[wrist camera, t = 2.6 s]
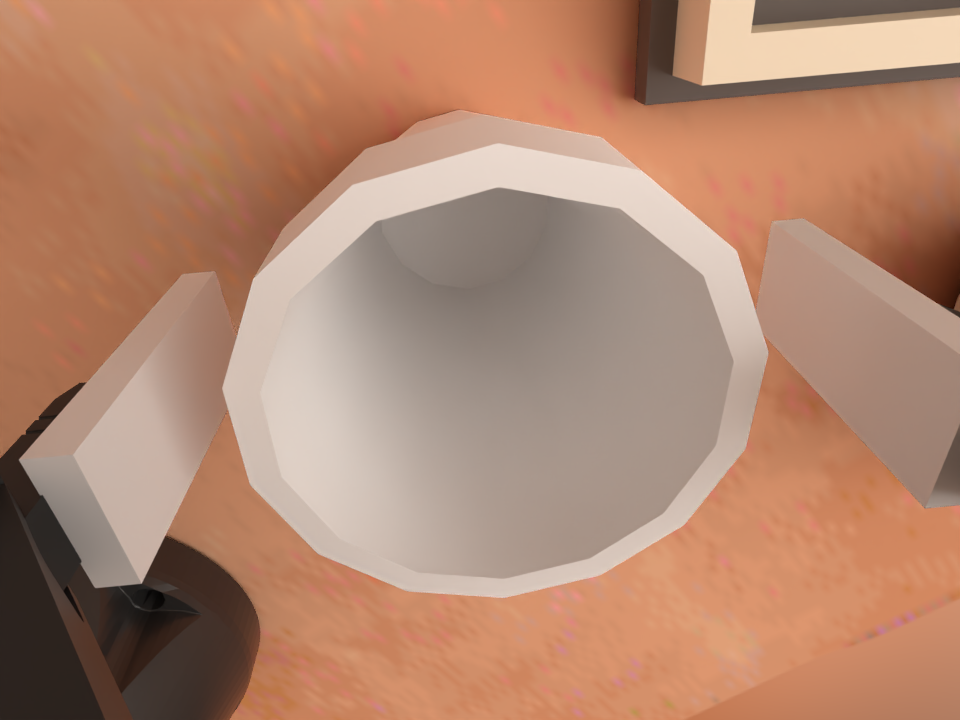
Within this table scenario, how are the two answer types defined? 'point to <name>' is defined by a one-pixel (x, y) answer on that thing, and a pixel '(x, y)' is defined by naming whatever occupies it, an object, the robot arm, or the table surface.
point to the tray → (790, 46)
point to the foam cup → (492, 361)
